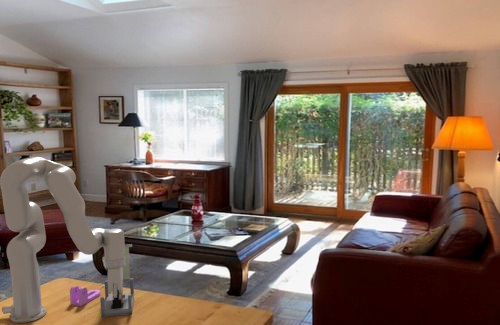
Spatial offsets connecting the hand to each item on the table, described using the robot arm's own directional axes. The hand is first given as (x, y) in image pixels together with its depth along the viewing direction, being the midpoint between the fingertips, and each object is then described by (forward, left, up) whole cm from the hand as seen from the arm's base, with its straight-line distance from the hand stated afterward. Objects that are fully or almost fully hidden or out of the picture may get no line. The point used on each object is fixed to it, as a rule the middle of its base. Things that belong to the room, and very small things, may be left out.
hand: (117, 307), depth 171 cm
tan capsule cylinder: (0, 0, -1) cm, 1 cm away
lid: (0, +12, +13) cm, 18 cm away
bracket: (-14, +15, -2) cm, 20 cm away
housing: (0, +4, -2) cm, 4 cm away
